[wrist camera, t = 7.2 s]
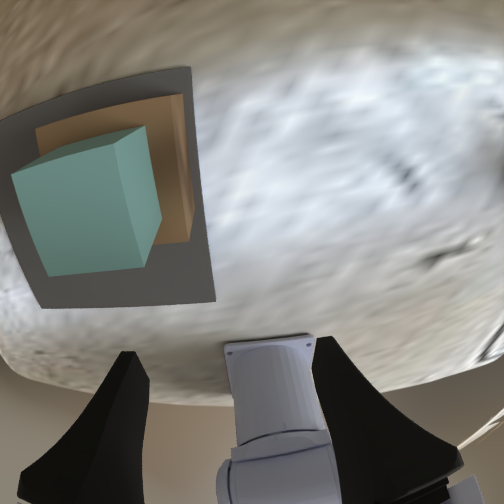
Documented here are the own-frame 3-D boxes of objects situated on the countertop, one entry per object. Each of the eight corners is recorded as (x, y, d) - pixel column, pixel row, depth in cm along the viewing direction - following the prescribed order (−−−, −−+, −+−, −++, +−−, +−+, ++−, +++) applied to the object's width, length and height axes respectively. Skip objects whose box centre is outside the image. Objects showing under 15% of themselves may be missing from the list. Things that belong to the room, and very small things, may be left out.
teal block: (162, 218, 14) (144, 267, 10) (82, 230, 13) (48, 276, 10) (145, 125, 11) (113, 143, 8) (59, 147, 11) (10, 174, 8)
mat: (215, 298, 22) (216, 301, 22) (43, 305, 21) (41, 308, 21) (191, 67, 14) (190, 66, 13) (-17, 130, 13) (-20, 131, 12)
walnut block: (195, 208, 18) (188, 241, 14) (92, 220, 17) (68, 253, 14) (182, 93, 14) (170, 95, 11) (70, 117, 14) (35, 129, 10)
